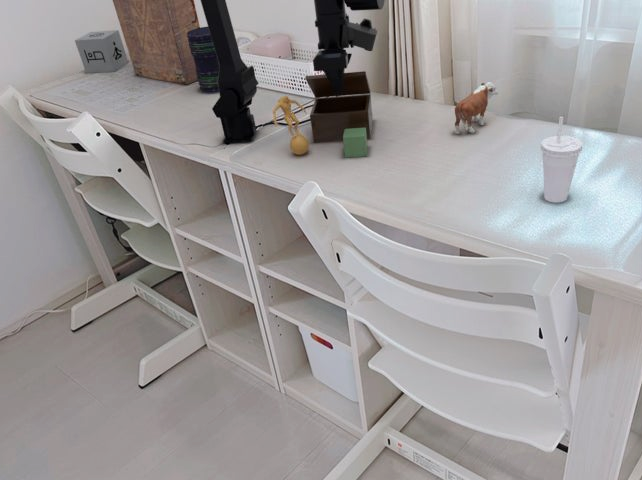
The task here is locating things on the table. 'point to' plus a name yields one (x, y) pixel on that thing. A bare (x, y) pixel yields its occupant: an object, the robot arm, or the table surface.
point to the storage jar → (204, 59)
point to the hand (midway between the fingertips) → (339, 94)
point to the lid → (351, 85)
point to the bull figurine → (474, 106)
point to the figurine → (297, 142)
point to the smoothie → (559, 164)
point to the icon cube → (101, 51)
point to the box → (340, 116)
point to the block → (355, 142)
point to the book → (159, 37)
